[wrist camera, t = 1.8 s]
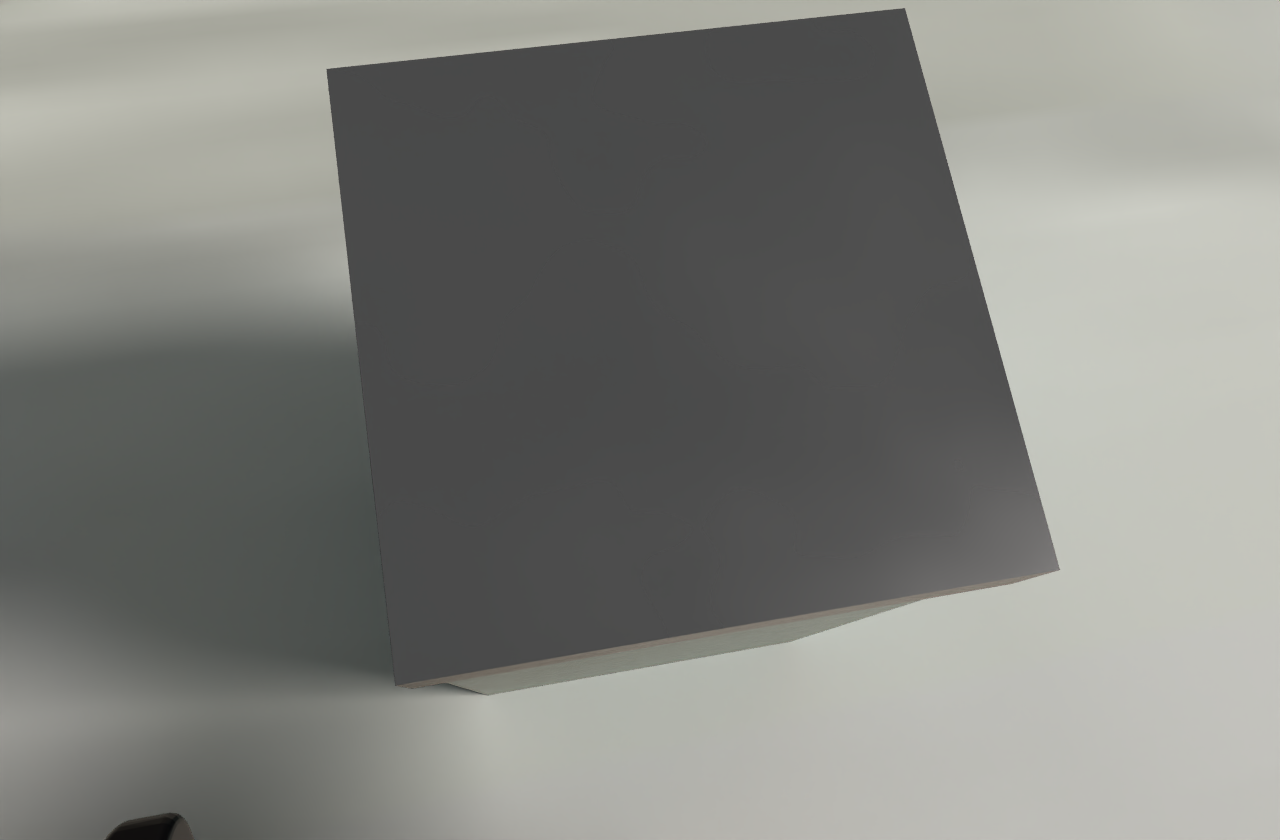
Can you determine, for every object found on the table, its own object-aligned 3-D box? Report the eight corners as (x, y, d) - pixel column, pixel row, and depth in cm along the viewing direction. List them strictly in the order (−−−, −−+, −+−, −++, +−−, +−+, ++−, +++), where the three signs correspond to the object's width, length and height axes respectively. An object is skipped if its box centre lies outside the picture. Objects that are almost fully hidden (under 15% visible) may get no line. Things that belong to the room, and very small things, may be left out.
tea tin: (796, 646, 19) (1059, 570, 9) (483, 701, 19) (395, 685, 8) (735, 353, 21) (904, 9, 11) (442, 394, 20) (326, 68, 10)
